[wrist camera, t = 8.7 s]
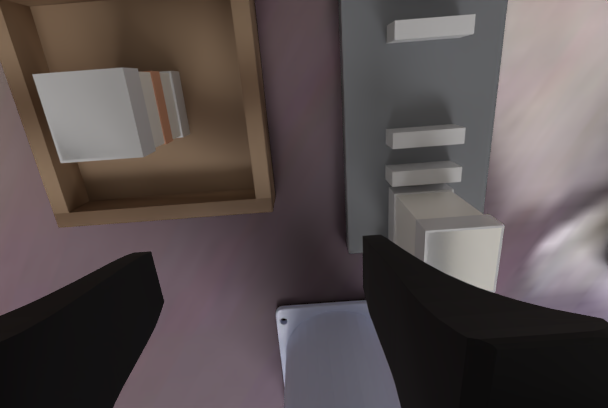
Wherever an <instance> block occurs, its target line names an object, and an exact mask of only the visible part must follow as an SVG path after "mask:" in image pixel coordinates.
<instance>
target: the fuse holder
mask: <svg viewBox="0 0 608 408" xmlns="http://www.w3.org/2000/svg"><path fill="white" fill-rule="evenodd" d="M338 3H339V32H340V62H341V91H342V121H343V150H344V180H345V209H346V239H347V249H348V252H349V254H355V253H363V236H367V235H380V234H381V235H383V236H384V237H386V238H387V239H389V238H388V214H389V187H399V186H413V185H426V184H439V183H445V184H447V185H448V186H450V187H451V188H453V189H454V193H455V194H456V195H458V196H459V197H460V198H462V199H463V200H464V201H466V202H467V203H469V204H470V205H471V206H473V207H474V208H476V209H477V210H478V211H480V212H481V213H482V214H483V211H484V203H485V194H486V185H487V177H488V168H489V159H490V150H491V142H492V133H493V124H494V116H495V107H496V98H497V90H498V81H499V72H500V63H501V55H502V46H503V37H504V29H505V20H506V11H507V3H508V0H338Z"/></svg>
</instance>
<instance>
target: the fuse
mask: <svg viewBox="0 0 608 408" xmlns="http://www.w3.org/2000/svg"><path fill="white" fill-rule="evenodd" d="M504 226H505V225H504V224H502V223H501V222H499V221H498V220H497V219H495V218H494V217H492V216H491V215H489V214H485V215H484V214H482V213H481V212H480V211H478V210H477V209H476V208H474V207H473V206H471V205H470V204H469V203H467V202H466V201H464V200H463V199H462V198H460V197H459V196H458V195H456V194H455V193H454V189H453V188H451V187H450V186H448V185H447V184H445V183H439V184H426V185H413V186H399V187H389V214H388V238H389V240H390V241H392V242H393V243H395V244H396V245H398V246H399V247H401V248H402V249H404V250H406V251H407V252H409V253H410V254H412V255H413V256H415V257H417V258H418V259H420V260H422V261H423V262H425V263H427V264H429V265H431V266H432V267H434V268H436V269H438V270H440V271H442V272H444V273H446V274H448V275H450V276H452V277H454V278H457V279H459V280H461V281H464V282H466V283H468V284H471V285H473V286H476V287H478V288H481V289H484V290H487V291H490V292H495V290H496V283H497V276H498V269H499V262H500V254H501V247H502V240H503V233H504Z"/></svg>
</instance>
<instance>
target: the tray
mask: <svg viewBox="0 0 608 408" xmlns="http://www.w3.org/2000/svg"><path fill="white" fill-rule="evenodd" d="M0 61H1V64H2V67H3V70H4V73H5V75H6V78H7V81H8V84H9V87H10V90H11V93H12V95H13V98H14V101H15V104H16V107H17V110H18V113H19V115H20V118H21V121H22V124H23V127H24V130H25V133H26V136H27V138H28V141H29V144H30V147H31V150H32V153H33V156H34V158H35V161H36V164H37V167H38V170H39V173H40V176H41V178H42V181H43V184H44V187H45V190H46V193H47V196H48V198H49V201H50V204H51V207H52V210H53V213H54V216H55V218H56V221H57V224H58V227H59V228H60V227H74V226H87V225H101V224H114V223H128V222H142V221H155V220H169V219H182V218H196V217H209V216H223V215H236V214H250V213H263V212H273V208H274V202H275V197H276V196H275V187H274V177H273V168H272V159H271V149H270V140H269V131H268V122H267V112H266V103H265V94H264V84H263V75H262V66H261V56H260V47H259V38H258V29H257V19H256V10H255V1H254V0H0ZM122 67H123V68H137V69H138V72H143V71H159V72H162V71H179V75H180V80H181V86H182V91H183V97H184V102H185V108H186V113H187V119H188V124H189V130H190V134H189V135H187V136H185V137H181V138H175V139H173V141H172V142H170V143H168V144H162V145H160V146H158V147H156V148H155V149H156V151H155V152H153V153H151V154H149V155H147V156H145V157H140V158H126V159H112V160H99V161H85V162H71V163H61V162H60V159H59V156H58V153H57V150H56V147H55V144H54V141H53V137H52V134H51V131H50V128H49V125H48V122H47V119H46V116H45V113H44V109H43V106H42V103H41V100H40V97H39V94H38V91H37V88H36V85H35V81H34V78H33V75H32V74H42V73H56V72H69V71H82V70H95V69H109V68H122Z"/></svg>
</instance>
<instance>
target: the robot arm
mask: <svg viewBox="0 0 608 408" xmlns="http://www.w3.org/2000/svg"><path fill="white" fill-rule="evenodd" d="M363 288H364V293H365V298H366V300H359V301H345V302H331V303H317V304H302V305H288V306H280V307H278V308H277V310H276V323H277V331H278V339H279V347H280V355H281V363H282V371H283V379H284V388H285V391H284V408H608V322H607V321H605V320H604V319H602V318H597V317H591V316H586V315H581V314H576V313H570V312H565V311H560V310H555V309H550V308H546V307H542V306H538V305H534V304H530V303H526V302H522V301H518V300H515V299H512V298H508V297H505V296H502V295H499V294H496V293H493V292H490V291H487V290H484V289H481V288H478V287H476V286H473V285H471V284H468V283H466V282H464V281H461V280H459V279H457V278H454V277H452V276H450V275H448V274H446V273H444V272H442V271H440V270H438V269H436V268H434V267H432V266H431V265H429V264H427V263H425V262H423V261H422V260H420V259H418V258H417V257H415V256H413V255H412V254H410V253H409V252H407V251H406V250H404V249H402V248H401V247H399V246H398V245H396V244H395V243H393V242H392V241H390V240H389V239H387V238H386V237H384V236H383V235H381V234H380V235H367V236H363ZM163 304H164V299H163V295H162V291H161V288H160V284H159V280H158V276H157V272H156V269H155V265H154V261H153V257H152V253H151V252H138V253H132V254H129V255H126V256H124V257H122V258H119V259H117V260H115V261H113V262H111V263H109V264H107V265H105V266H103V267H102V268H100V269H98V270H96V271H94V272H92V273H90V274H88V275H86V276H84V277H83V278H81V279H79V280H77V281H75V282H73V283H71V284H69V285H67V286H65V287H63V288H61V289H59V290H57V291H55V292H53V293H51V294H49V295H47V296H45V297H43V298H40V299H38V300H36V301H34V302H32V303H29V304H27V305H25V306H23V307H20V308H18V309H16V310H13V311H11V312H8V313H6V314H4V315H1V316H0V408H113V406H114V404H115V402H116V400H117V398H118V396H119V394H120V392H121V390H122V388H123V386H124V384H125V382H126V380H127V379H128V377H129V375H130V373H131V371H132V369H133V368H134V366H135V364H136V362H137V360H138V358H139V357H140V355H141V353H142V351H143V349H144V347H145V346H146V344H147V342H148V340H149V338H150V336H151V334H152V332H153V330H154V328H155V326H156V324H157V321H158V318H159V316H160V313H161V310H162V307H163ZM282 318H285V319H287V320H285V321H282V320H281V319H282Z"/></svg>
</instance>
